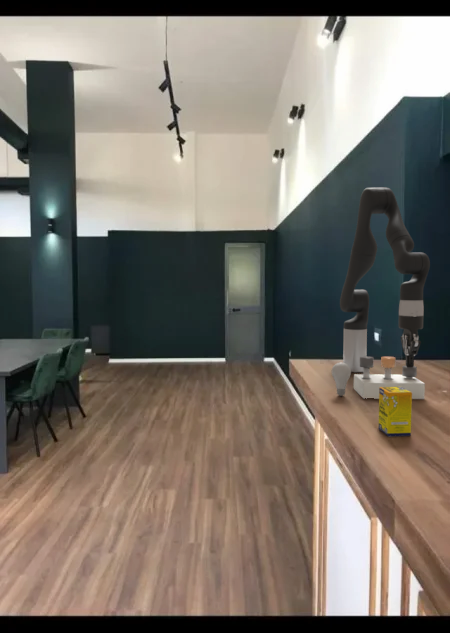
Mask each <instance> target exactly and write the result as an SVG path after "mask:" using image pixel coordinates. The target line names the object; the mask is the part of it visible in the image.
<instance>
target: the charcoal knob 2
mask: <svg viewBox="0 0 450 633" xmlns="http://www.w3.org/2000/svg"><path fill="white" fill-rule="evenodd" d="M401 370H402V373H401V374H402V376H405V377H406V380H413V377H415V378H416V377H417V374H418V368H417V366H416V365H414V367H407V366H406V365H402V369H401Z"/></svg>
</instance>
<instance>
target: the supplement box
mask: <svg viewBox="0 0 450 633" xmlns="http://www.w3.org/2000/svg"><path fill="white" fill-rule="evenodd" d="M412 402H413V399H412V392H410V391H408V390H406V389H404V388H402V387H379V399H378V430H379V431H381V432H382V433H384V435H385V436H387V437H388V438H391V437H410V436H412V408H413V407H412V406H413V403H412Z"/></svg>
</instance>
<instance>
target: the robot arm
mask: <svg viewBox="0 0 450 633" xmlns="http://www.w3.org/2000/svg"><path fill="white" fill-rule="evenodd" d="M374 214H375V215H377V214H384V215H385V216H386V217H387V219H388V220H387V221H388V222H387V224H386V228H385V238H386V240H387V242H388V245H389V247H390V249H391V250H392V254H393V261H394V267H395V270H396V271H397V272H398V273H399V274H401V275H412V277H411V278H410V280H409V281H404V282H402V283H401V284H400V289H399V293H400V294H399V304H398V305H399V306H398V328H399V329H401V330H403V333H402V336H400V341H401V348H402V352H403V353H404V355H405V366H407V367H414V366H415V356H417V355H418V354H419V353H418V352H419V349H420V346H421V344H422V341H421V340H419V338H420V337H419V332H418V330H422V329H423V328H424V312H425V311H424V309H425V308H424V289H425V288H424V287H425V283H426V281H427V277H428V275H429V270H430V267H431V262H430V261H431V260H430V258H429V255H427V254H426V253H424V252H421V251H420V252H416V251H415V252H413V250H414V247H415V242H414V240H413V238H412V236H411V235H410V233H409V231H408V229H407V227H406V226H405V224H404V220H403V218H402V214H401V211H400V207H399V204H398V201H397V199H396V195H395V193H394V192H393V190H392V189H391V188H389V187H366V188H365V189H363V191H362V193H361V195H360V199H359V206H358V213H357V223H356V227H355V228H356V229H355V233H354V240H353V243H352V247H351V250H350V257H349V262H348V268H347V273H346V276H345V280H344V283H343V286H342V289H341V294H340V297H339V298H340V299H339V307H340V310H341V312H343V313H355V315H354V317H352V318H351V319H347V320H345V321H344V322H343V351H342V352H343V354H342V358H343V359H342V363H345V364H347V365H348V366H349V367H350V369H351V373H363V367H360V357H362V356H367V352H368V350H367V348H368V347H367V346H368V344H367V342H368V339H367V338H368V336H367V335H368V333H367V332H368V323H369V309H370V295H369V293H368V290H366V289H356V287H357V284H358V283H359V282H360V280H361V279H362V278H363V277H364V276H365V275H366V274H367V273H368V272H369V271H370V270H371V268H372V267H373V266H374V263H375V261H376V256H377V252H378V244H377V241H376V239H375V236H374V233H373V232H372V229H371V218H372V215H374Z"/></svg>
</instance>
